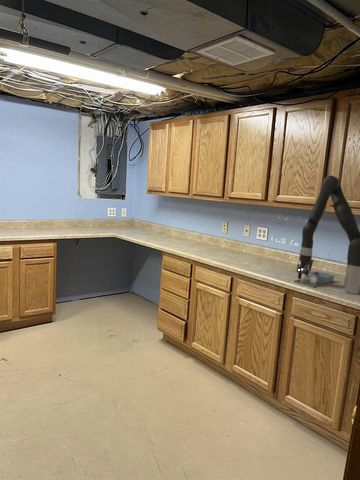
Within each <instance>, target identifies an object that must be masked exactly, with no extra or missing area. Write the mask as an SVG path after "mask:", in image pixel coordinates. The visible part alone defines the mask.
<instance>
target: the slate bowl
mask: <svg viewBox="0 0 360 480" xmlns="http://www.w3.org/2000/svg"><path fill="white" fill-rule="evenodd" d="M310 277H317V282H320V283H323V284H328V283H332V282H334V277H335V275H334V274H332V273H326V272H321V271H318V270H316V271H312V272H311V271H310V273H308V277H307V279H308V280H310Z"/></svg>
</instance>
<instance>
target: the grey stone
mask: <svg viewBox="0 0 360 480" xmlns="http://www.w3.org/2000/svg"><path fill="white" fill-rule="evenodd" d="M316 282H317V277H310V285H316Z"/></svg>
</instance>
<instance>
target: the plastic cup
mask: <svg viewBox="0 0 360 480" xmlns="http://www.w3.org/2000/svg"><path fill="white" fill-rule="evenodd" d="M315 259H316V258H315V257H313V256H312V259H311V262H312V264H311V268H312V266H313V263H314V260H315ZM299 261H300V260H299ZM299 263H301V261H300V262H299ZM309 269H310V267H309ZM309 273H311V271H309ZM302 274H305V270H304V271H303V272H302Z"/></svg>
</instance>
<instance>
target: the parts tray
mask: <svg viewBox="0 0 360 480" xmlns="http://www.w3.org/2000/svg"><path fill="white" fill-rule="evenodd" d="M293 283H295V284H298V285H302V286H306V287H310V288H313V289H314V288H316V287H320V286H323V284H324V283H320V282H316V285H310V280H308V279H307V280H306V283H302V282H300V279H298V278H297V279H296V280H295V279H294V280H293Z"/></svg>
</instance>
